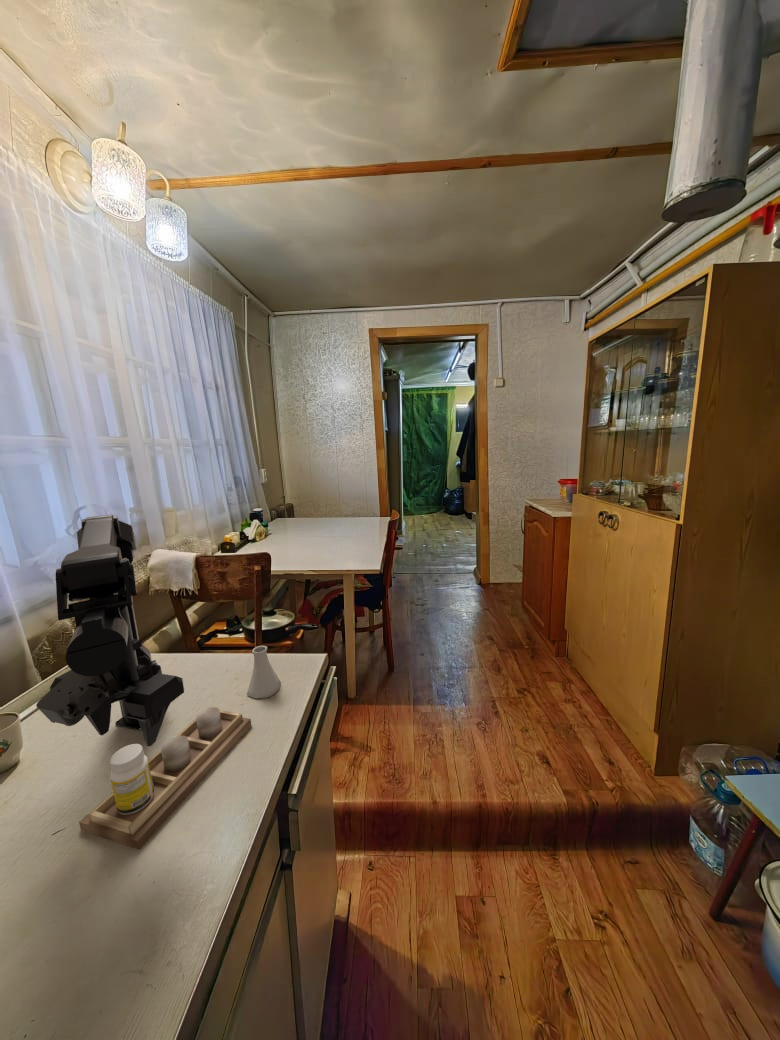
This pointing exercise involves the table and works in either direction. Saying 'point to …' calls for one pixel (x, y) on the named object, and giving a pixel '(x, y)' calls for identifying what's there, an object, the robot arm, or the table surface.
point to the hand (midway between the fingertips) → (127, 738)
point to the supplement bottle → (131, 779)
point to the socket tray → (170, 777)
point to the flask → (262, 675)
